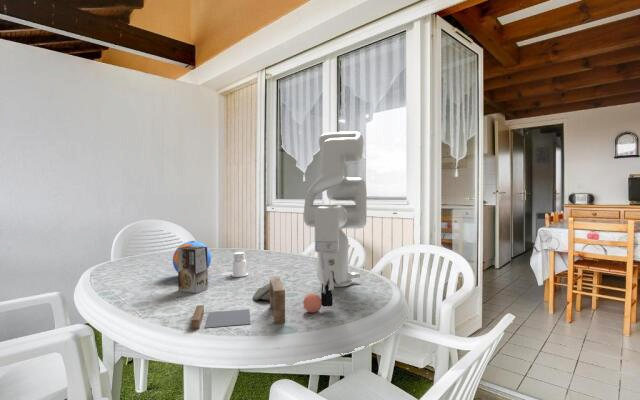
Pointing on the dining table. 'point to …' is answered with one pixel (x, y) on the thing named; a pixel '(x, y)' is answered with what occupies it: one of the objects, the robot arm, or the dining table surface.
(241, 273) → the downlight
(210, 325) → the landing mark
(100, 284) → the dining table surface
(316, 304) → the ball
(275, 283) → the bridge
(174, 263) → the treat dispenser ball
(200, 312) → the strip
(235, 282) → the dining table surface
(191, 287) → the coffee box
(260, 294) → the fossilized seashell
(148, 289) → the dining table surface
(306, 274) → the dining table surface
